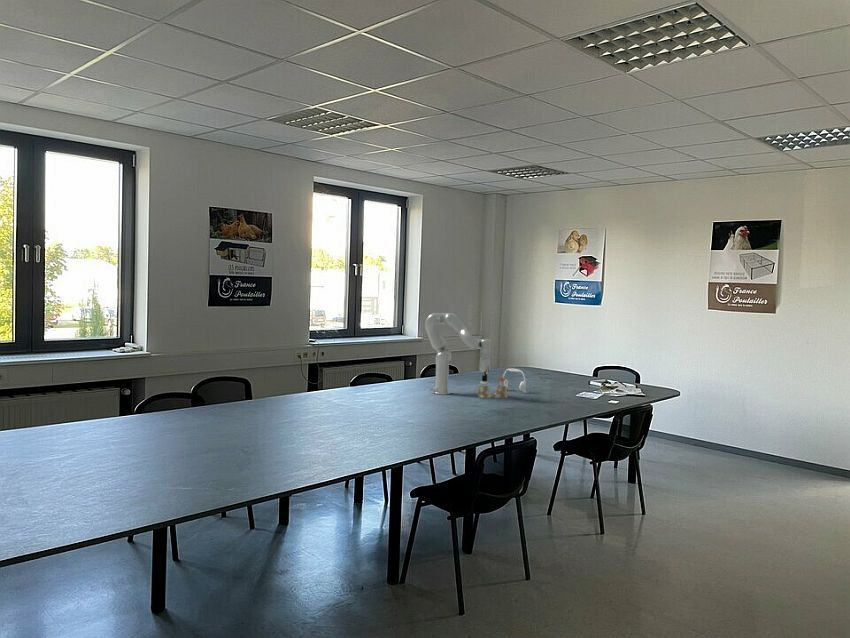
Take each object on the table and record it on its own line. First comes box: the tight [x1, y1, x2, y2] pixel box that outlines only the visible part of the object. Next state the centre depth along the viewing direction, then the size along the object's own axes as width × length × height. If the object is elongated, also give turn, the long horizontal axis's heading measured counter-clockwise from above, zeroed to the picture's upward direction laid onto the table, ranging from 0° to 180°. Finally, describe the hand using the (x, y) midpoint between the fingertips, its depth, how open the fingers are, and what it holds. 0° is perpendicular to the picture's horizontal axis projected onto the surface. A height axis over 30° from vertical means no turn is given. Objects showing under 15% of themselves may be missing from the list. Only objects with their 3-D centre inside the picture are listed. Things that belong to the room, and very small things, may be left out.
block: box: [476, 385, 509, 399], centre depth 466 cm, size 20×10×8 cm, turn 107°
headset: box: [502, 368, 527, 394], centre depth 492 cm, size 20×7×18 cm, turn 53°
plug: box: [480, 380, 489, 387], centre depth 464 cm, size 5×5×8 cm
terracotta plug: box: [498, 376, 507, 387], centre depth 468 cm, size 5×5×8 cm
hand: (484, 381), depth 463 cm, fingers closed
